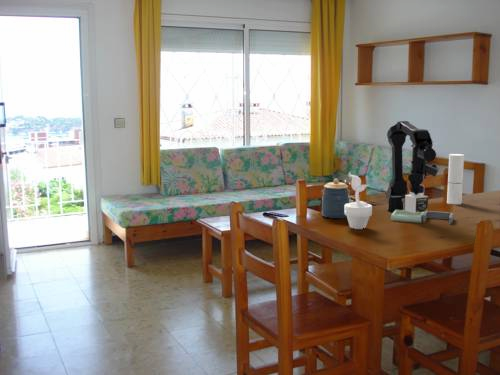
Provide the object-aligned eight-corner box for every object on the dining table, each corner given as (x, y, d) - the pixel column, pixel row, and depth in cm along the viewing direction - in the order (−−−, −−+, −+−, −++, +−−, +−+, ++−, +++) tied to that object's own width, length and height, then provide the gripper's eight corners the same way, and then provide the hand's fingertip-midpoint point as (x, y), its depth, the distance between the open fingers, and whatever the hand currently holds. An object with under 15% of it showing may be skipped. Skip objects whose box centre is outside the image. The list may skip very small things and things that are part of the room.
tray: (390, 220, 266) (391, 215, 266) (395, 214, 278) (395, 209, 277) (420, 222, 261) (421, 217, 261) (424, 216, 273) (424, 211, 273)
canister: (322, 219, 270) (322, 180, 267) (320, 213, 283) (321, 176, 280) (351, 219, 269) (352, 180, 267) (348, 213, 282) (348, 176, 279)
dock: (422, 222, 262) (422, 215, 262) (425, 217, 272) (425, 210, 272) (451, 224, 258) (451, 217, 257) (452, 219, 268) (453, 212, 267)
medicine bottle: (415, 213, 259) (417, 186, 257) (404, 210, 266) (405, 184, 263) (427, 211, 263) (429, 185, 261) (416, 208, 269) (417, 182, 267)
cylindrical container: (462, 202, 307) (464, 154, 303) (460, 204, 300) (463, 155, 296) (447, 201, 310) (450, 153, 306) (446, 203, 303) (448, 155, 299)
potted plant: (338, 226, 256) (339, 168, 252) (361, 223, 260) (362, 167, 256) (354, 232, 244) (356, 172, 240) (378, 229, 249) (380, 170, 245)
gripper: (436, 162, 248) (434, 198, 251) (439, 156, 265) (438, 190, 268) (408, 161, 252) (407, 197, 255) (414, 155, 269) (412, 189, 272)
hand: (417, 193), depth 263 cm, fingers closed on medicine bottle, 6 cm apart
